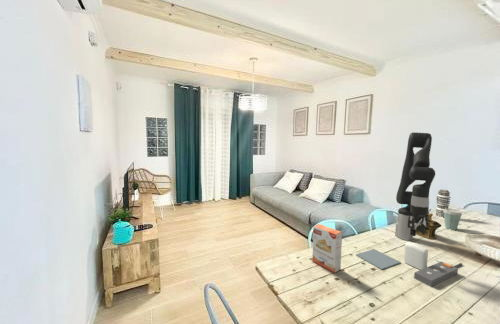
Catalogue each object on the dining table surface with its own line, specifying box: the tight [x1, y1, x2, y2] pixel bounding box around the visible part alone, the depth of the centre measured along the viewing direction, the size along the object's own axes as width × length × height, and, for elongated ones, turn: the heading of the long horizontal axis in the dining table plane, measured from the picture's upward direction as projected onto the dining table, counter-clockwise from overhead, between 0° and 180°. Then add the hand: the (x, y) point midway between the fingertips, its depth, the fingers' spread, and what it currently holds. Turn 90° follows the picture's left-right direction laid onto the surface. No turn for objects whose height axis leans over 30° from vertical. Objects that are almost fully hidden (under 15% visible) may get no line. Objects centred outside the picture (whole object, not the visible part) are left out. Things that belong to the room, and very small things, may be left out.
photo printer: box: [403, 241, 429, 270], centre depth 116 cm, size 10×4×12 cm, turn 26°
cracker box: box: [312, 223, 343, 274], centre depth 116 cm, size 14×6×21 cm, turn 37°
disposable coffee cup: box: [443, 208, 463, 231], centre depth 166 cm, size 11×11×15 cm
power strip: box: [413, 261, 463, 288], centre depth 110 cm, size 7×37×4 cm, turn 114°
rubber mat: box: [355, 248, 402, 271], centre depth 123 cm, size 16×16×1 cm
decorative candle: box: [435, 189, 451, 218], centre depth 191 cm, size 9×9×25 cm
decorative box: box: [414, 208, 442, 240], centre depth 157 cm, size 20×10×20 cm, turn 19°
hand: (417, 234), depth 115 cm, fingers open, 8 cm apart
